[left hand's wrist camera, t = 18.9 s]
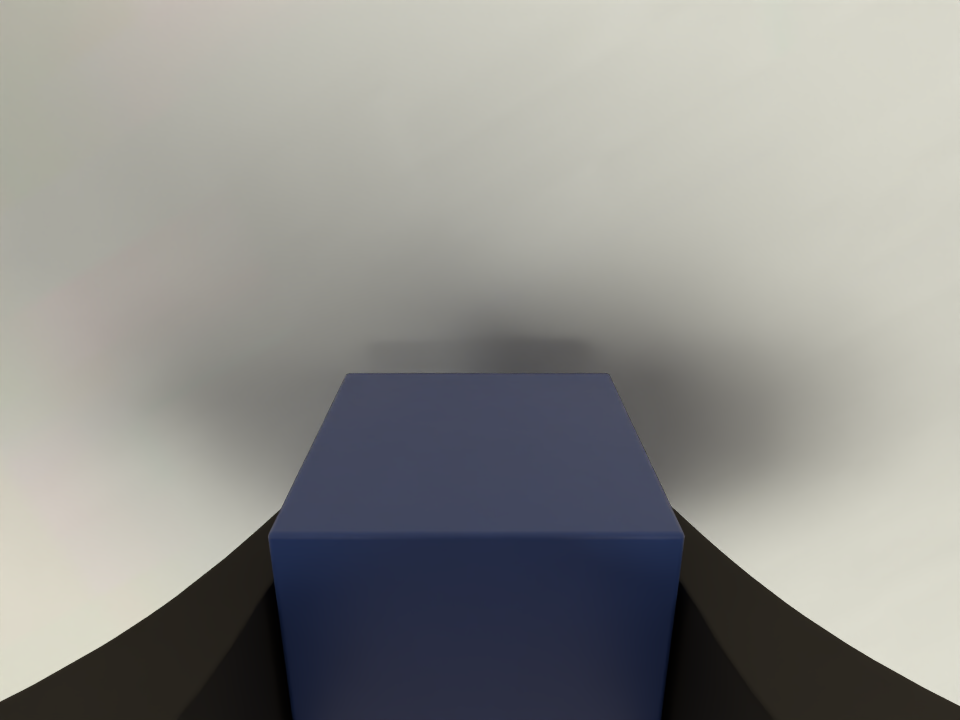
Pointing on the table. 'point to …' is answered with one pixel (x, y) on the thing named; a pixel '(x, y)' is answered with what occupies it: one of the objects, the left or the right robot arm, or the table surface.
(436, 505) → the block
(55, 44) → the table surface
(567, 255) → the table surface
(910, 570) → the table surface
